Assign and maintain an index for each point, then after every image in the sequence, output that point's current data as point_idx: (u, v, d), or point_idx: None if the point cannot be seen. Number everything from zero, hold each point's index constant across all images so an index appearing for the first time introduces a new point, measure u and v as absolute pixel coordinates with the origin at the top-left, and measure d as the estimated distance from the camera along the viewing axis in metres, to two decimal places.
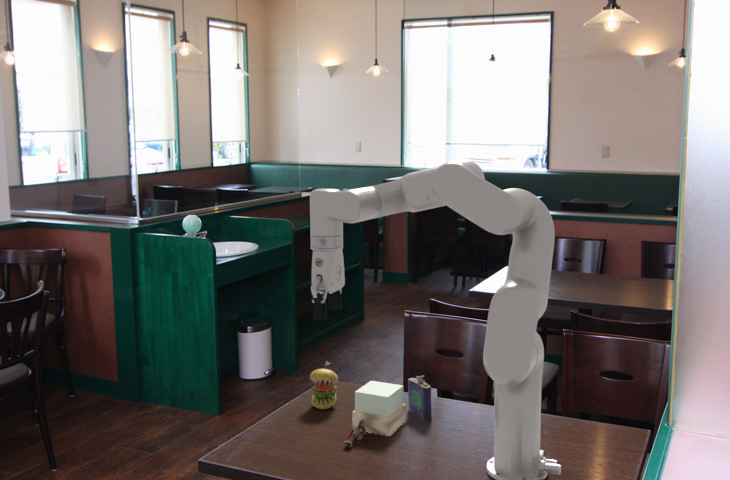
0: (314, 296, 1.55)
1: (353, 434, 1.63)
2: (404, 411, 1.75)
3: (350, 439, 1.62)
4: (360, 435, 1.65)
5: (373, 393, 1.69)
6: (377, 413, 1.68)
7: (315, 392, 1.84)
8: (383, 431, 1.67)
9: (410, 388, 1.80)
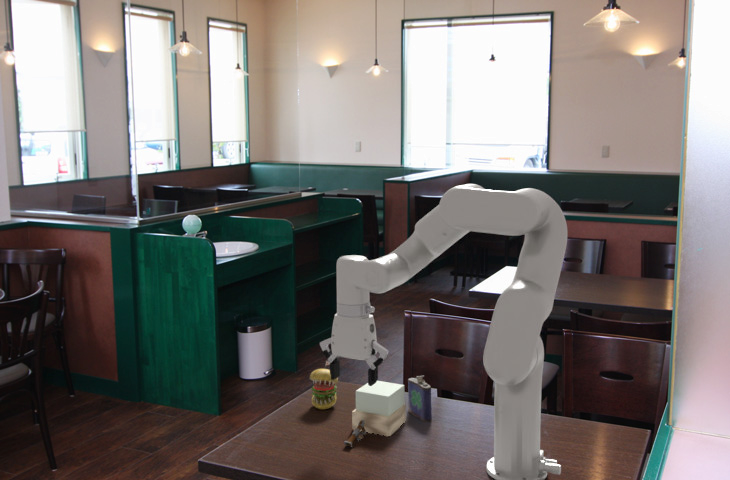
0: (383, 360, 1.58)
1: (353, 435, 1.63)
2: (404, 411, 1.75)
3: (350, 439, 1.62)
4: (360, 435, 1.65)
5: (374, 392, 1.69)
6: (378, 413, 1.68)
7: (315, 392, 1.84)
8: (382, 431, 1.67)
9: (410, 388, 1.80)
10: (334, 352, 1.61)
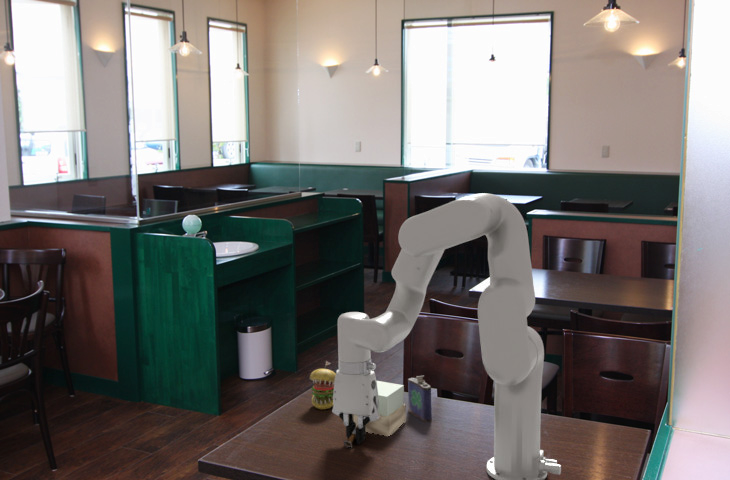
0: None
1: (353, 434, 1.63)
2: (404, 411, 1.75)
3: (350, 439, 1.61)
4: None
5: None
6: None
7: (315, 392, 1.84)
8: (382, 431, 1.67)
9: (410, 388, 1.80)
10: (336, 408, 1.63)
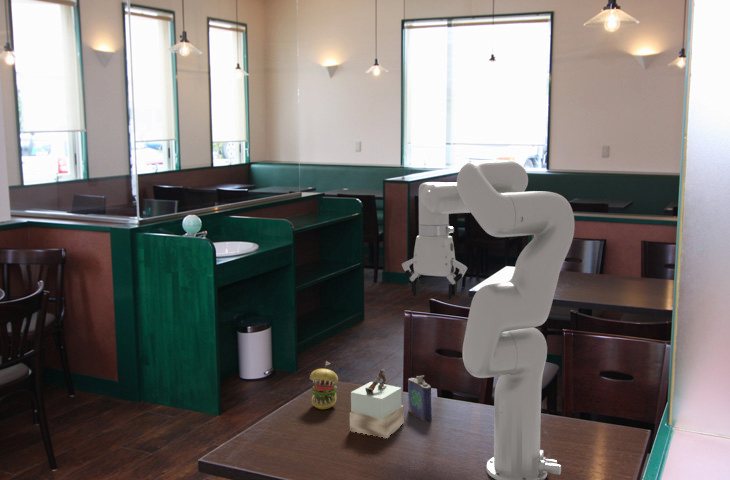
0: (462, 276, 1.75)
1: (374, 382, 1.69)
2: (402, 413, 1.74)
3: (371, 386, 1.68)
4: (381, 384, 1.72)
5: (369, 394, 1.68)
6: (372, 415, 1.67)
7: (315, 392, 1.84)
8: (380, 433, 1.66)
9: (410, 388, 1.80)
10: (416, 270, 1.78)
